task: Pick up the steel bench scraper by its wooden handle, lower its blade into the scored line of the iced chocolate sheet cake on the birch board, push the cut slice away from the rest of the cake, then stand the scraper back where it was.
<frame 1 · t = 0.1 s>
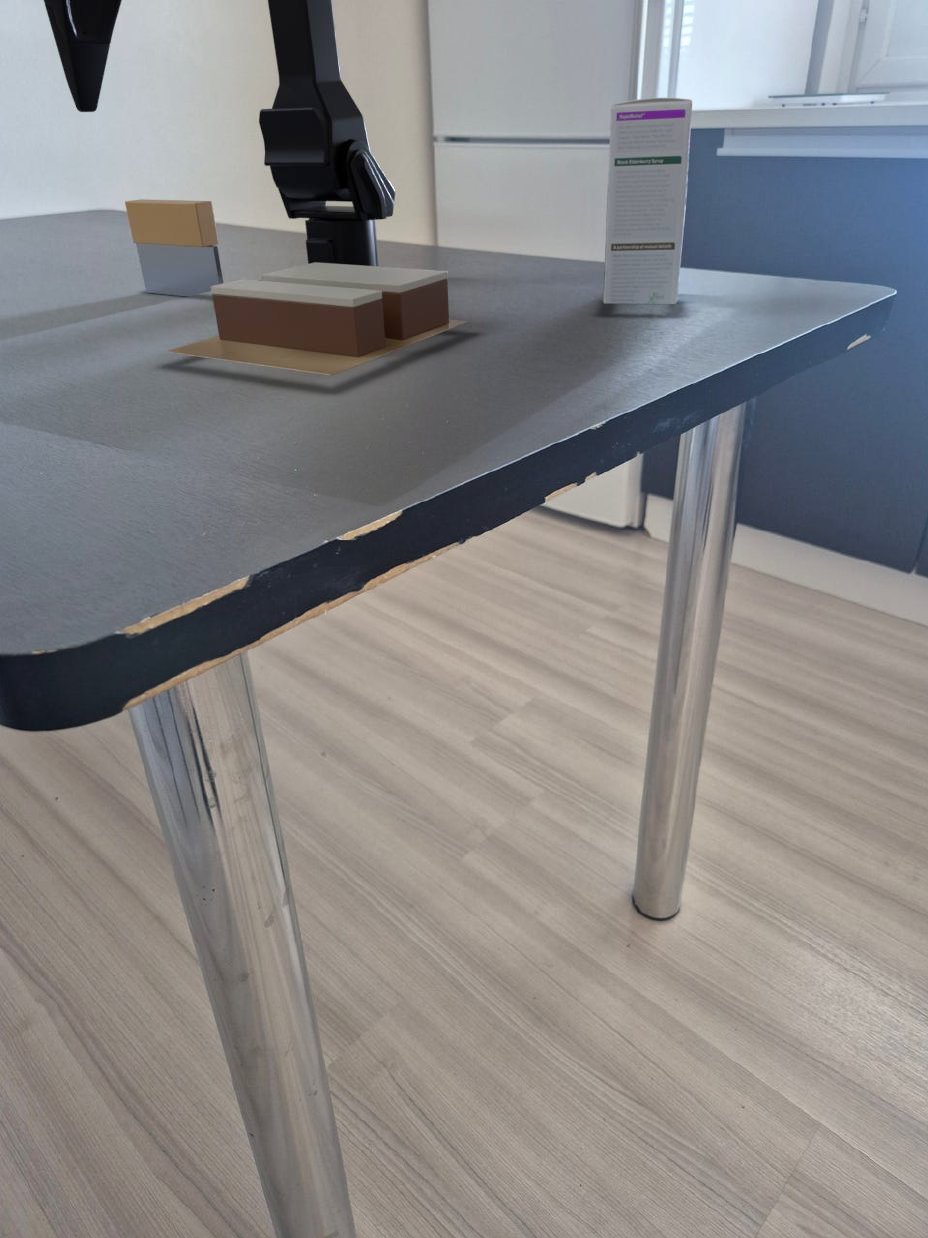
hand: (37, 113, 51), 15 cm above the table, tool pointing down, fingers open, 9 cm apart
cake slice: (300, 343, 57), point 1 cm above the table, touching cake board
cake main: (358, 323, 62), point 1 cm above the table, touching cake board
cake board: (325, 350, 59), on the table
scraper: (185, 295, 79), on the table
syrup box: (638, 311, 68), on the table
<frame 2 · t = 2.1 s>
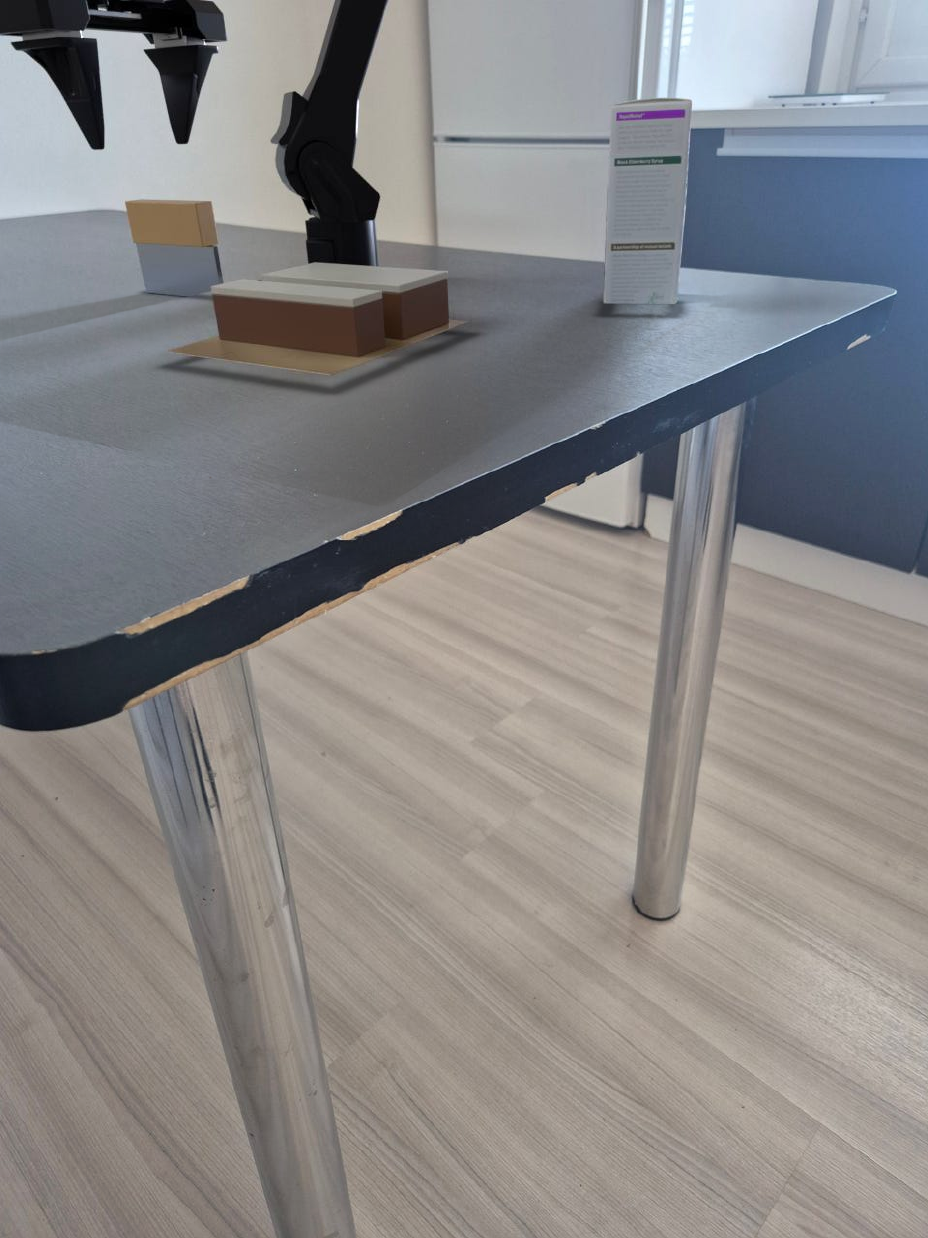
hand: (142, 146, 69), 12 cm above the table, tool pointing down, fingers open, 9 cm apart
nothing on the table moved.
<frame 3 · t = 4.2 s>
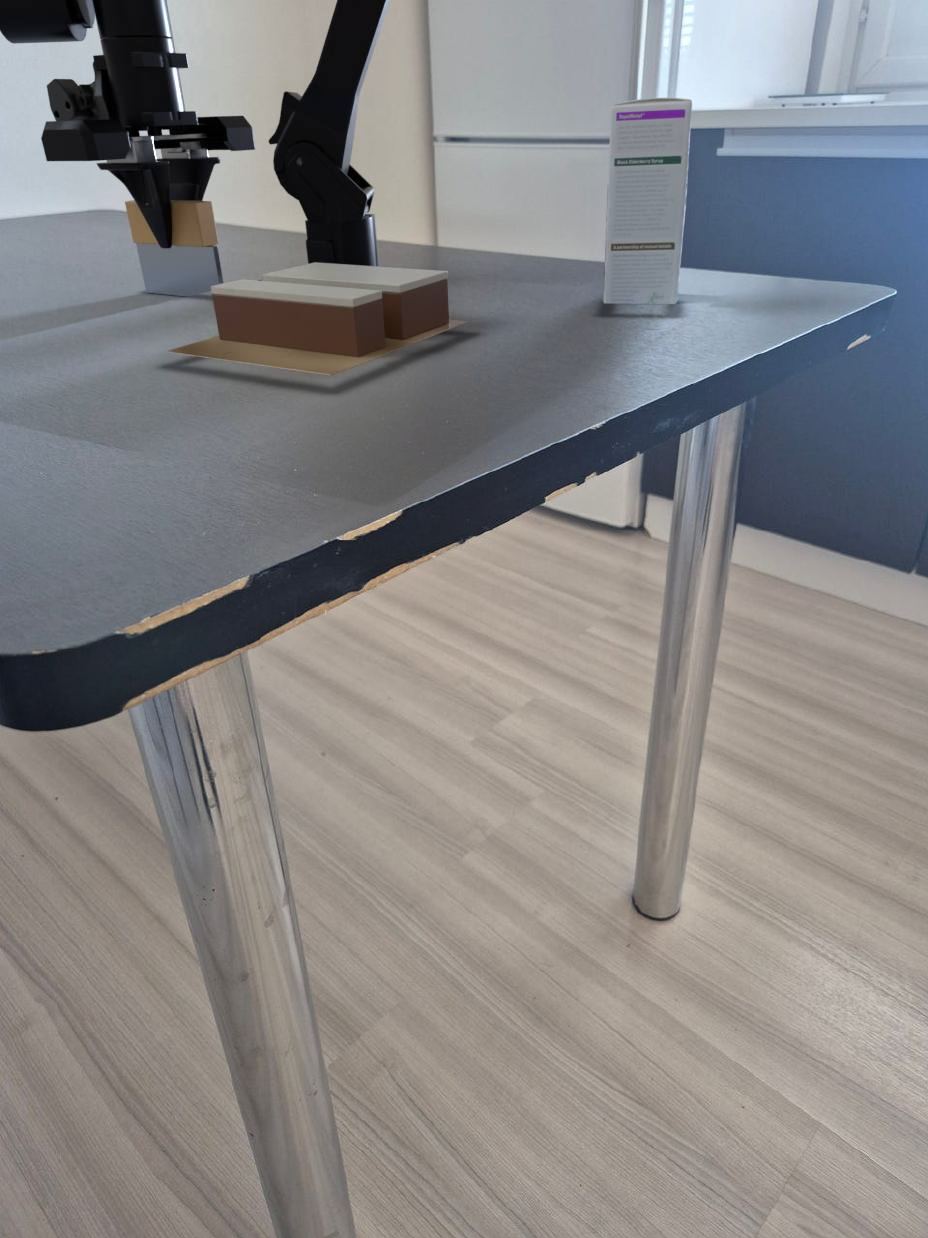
hand: (176, 246, 77), 4 cm above the table, tool pointing down, fingers closed on scraper, 2 cm apart
scraper: (185, 295, 79), on the table, touching gripper
everything else where it was.
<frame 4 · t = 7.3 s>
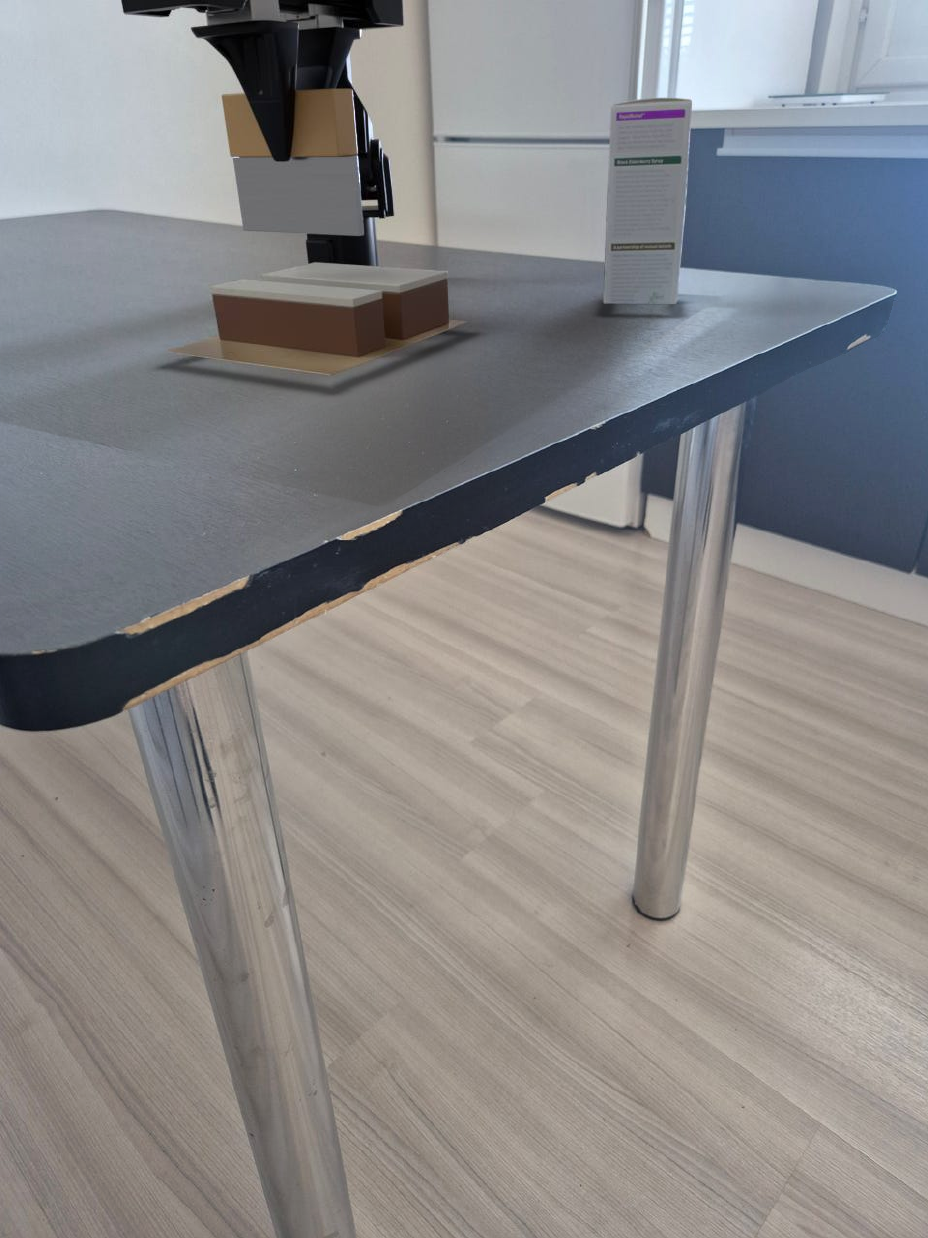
hand: (294, 160, 54), 12 cm above the table, tool pointing down, fingers closed on scraper
scraper: (301, 232, 56), point 7 cm above the table, touching gripper
everything else where it was.
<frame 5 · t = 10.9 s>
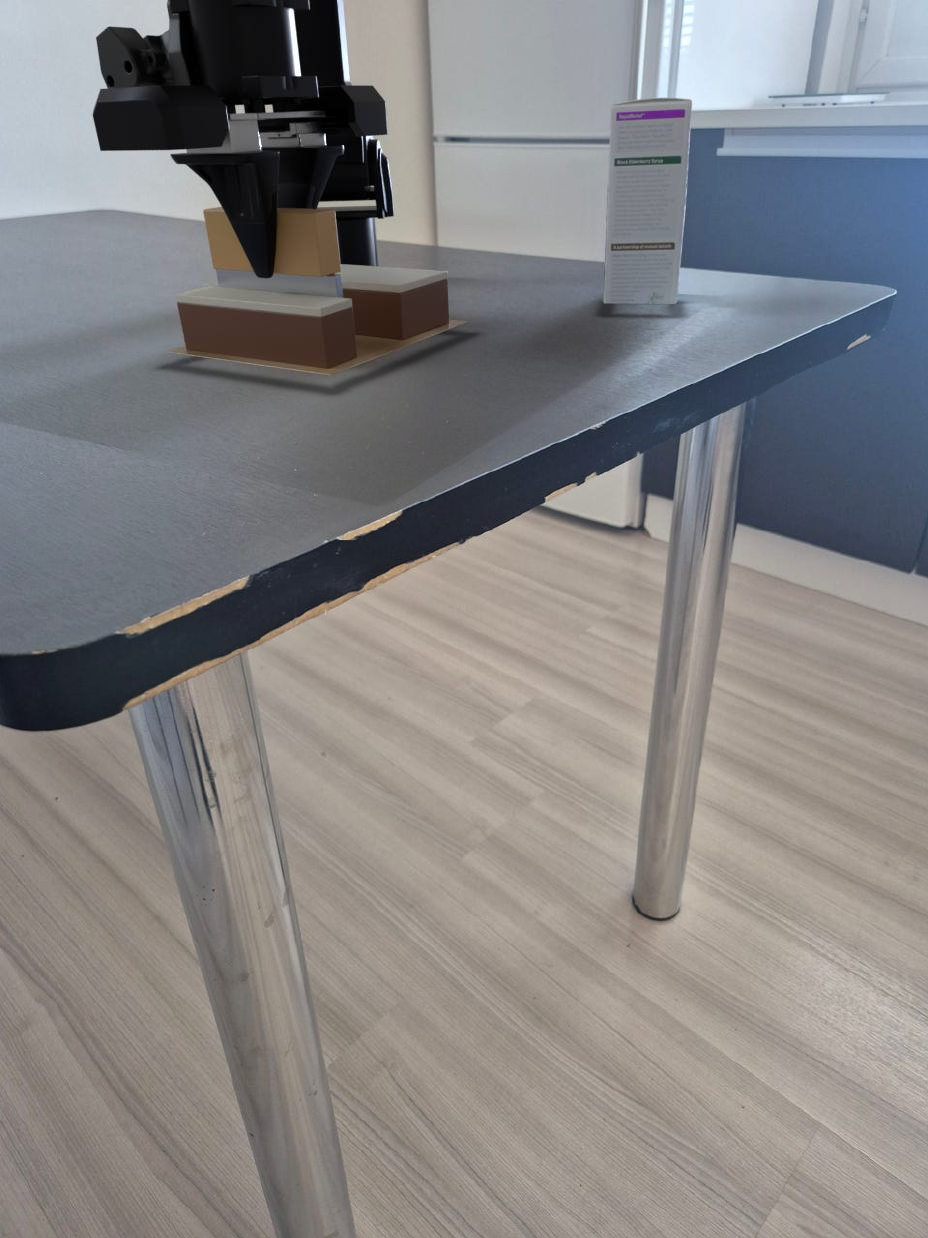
hand: (277, 274, 53), 6 cm above the table, tool pointing down, fingers closed on scraper, 2 cm apart
cake slice: (269, 353, 55), point 1 cm above the table, touching cake board, scraper
scraper: (286, 342, 56), point 1 cm above the table, touching cake slice, gripper
everything else where it was.
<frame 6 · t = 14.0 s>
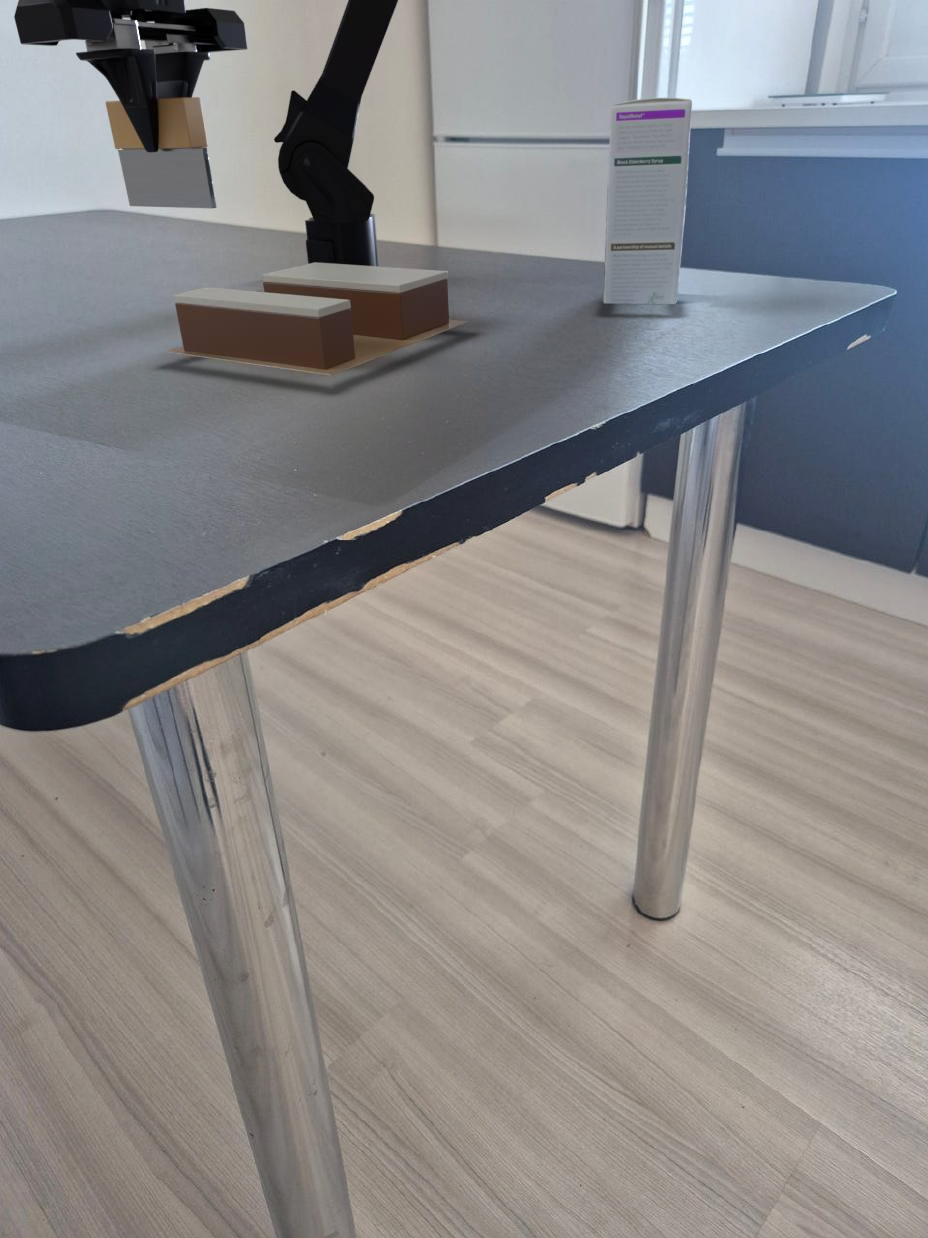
hand: (163, 151, 71), 12 cm above the table, tool pointing down, fingers closed on scraper
cake slice: (267, 354, 54), point 1 cm above the table, touching cake board
scraper: (172, 206, 74), point 8 cm above the table, touching gripper
everything else where it was.
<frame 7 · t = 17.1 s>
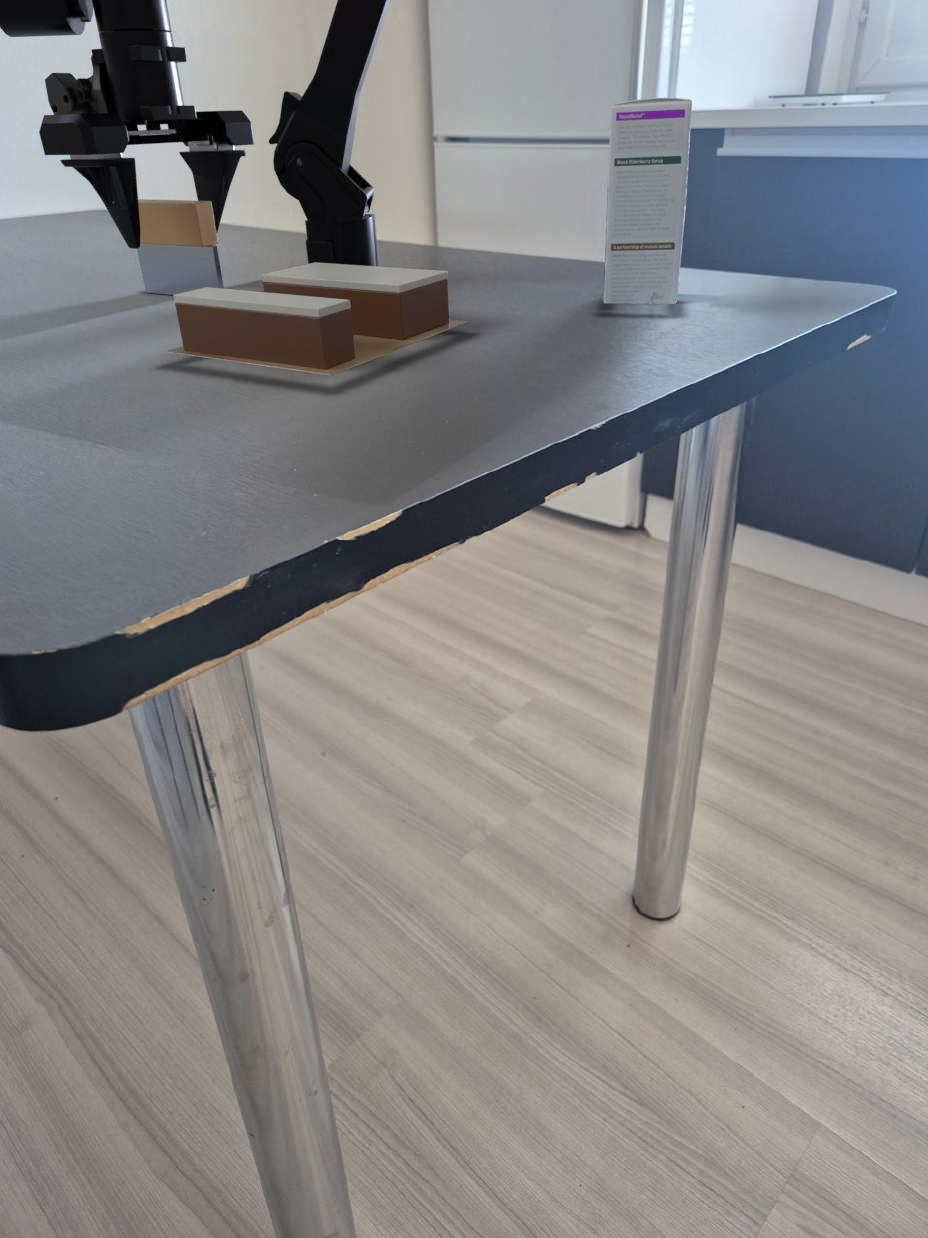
hand: (174, 241, 77), 5 cm above the table, tool pointing down, fingers open, 9 cm apart
scraper: (184, 295, 79), on the table
everything else where it was.
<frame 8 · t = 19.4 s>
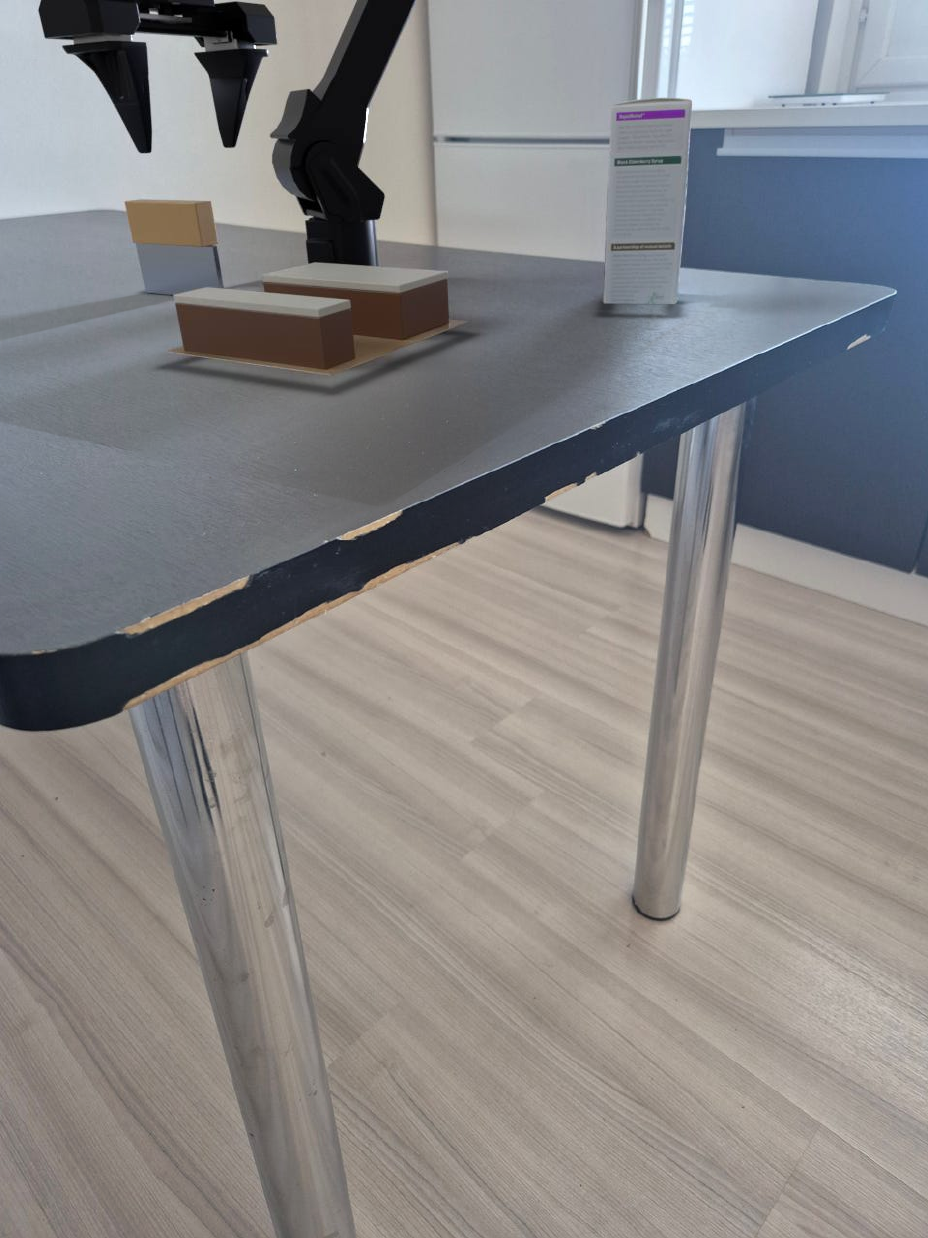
hand: (189, 150, 69), 12 cm above the table, tool pointing down, fingers open, 9 cm apart
nothing on the table moved.
at the end: cake slice 0.8 cm from the target spot on the table beside the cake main, resting on cake board; cake slice tilted 0°; the gripper is holding nothing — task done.
